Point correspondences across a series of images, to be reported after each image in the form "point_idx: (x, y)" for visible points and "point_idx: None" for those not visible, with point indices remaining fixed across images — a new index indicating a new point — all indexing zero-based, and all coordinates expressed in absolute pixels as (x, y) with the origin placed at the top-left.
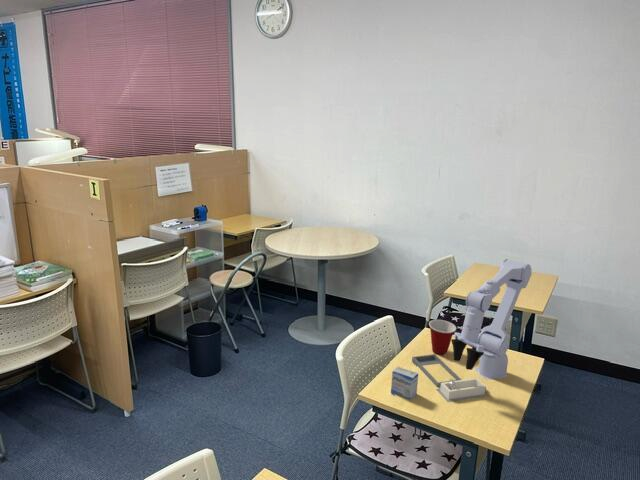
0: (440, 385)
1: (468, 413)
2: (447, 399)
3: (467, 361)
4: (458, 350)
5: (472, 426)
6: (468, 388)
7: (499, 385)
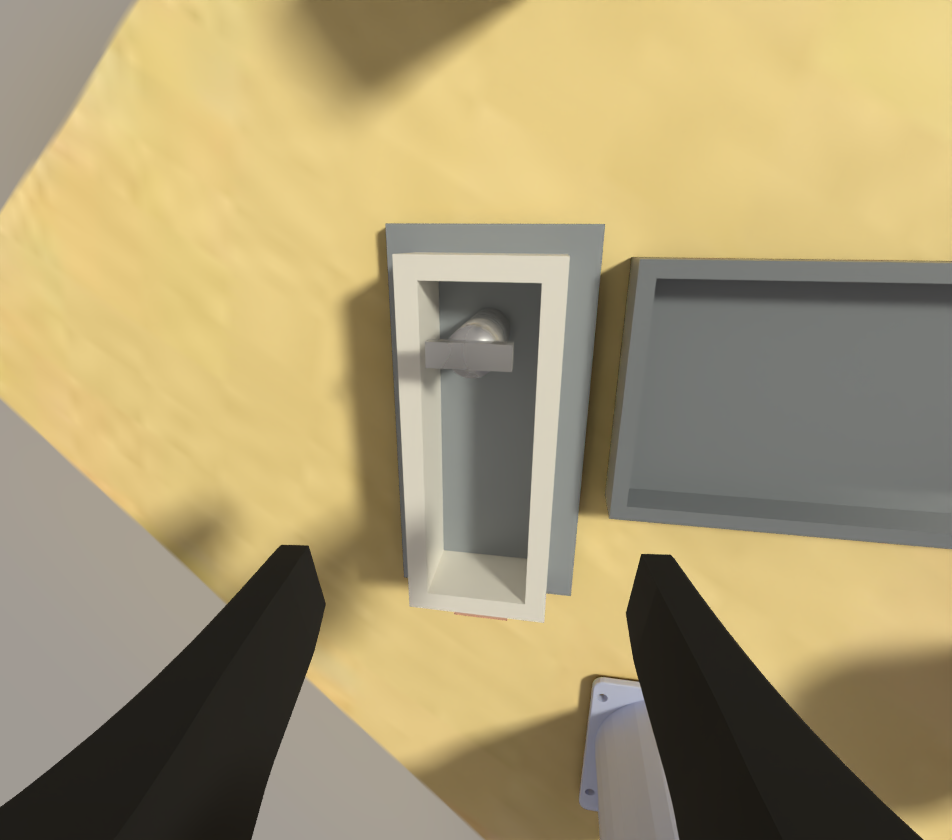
0: (632, 296)
1: (252, 319)
2: (421, 244)
3: (209, 646)
4: (707, 780)
5: (110, 255)
6: (407, 464)
7: (517, 706)
